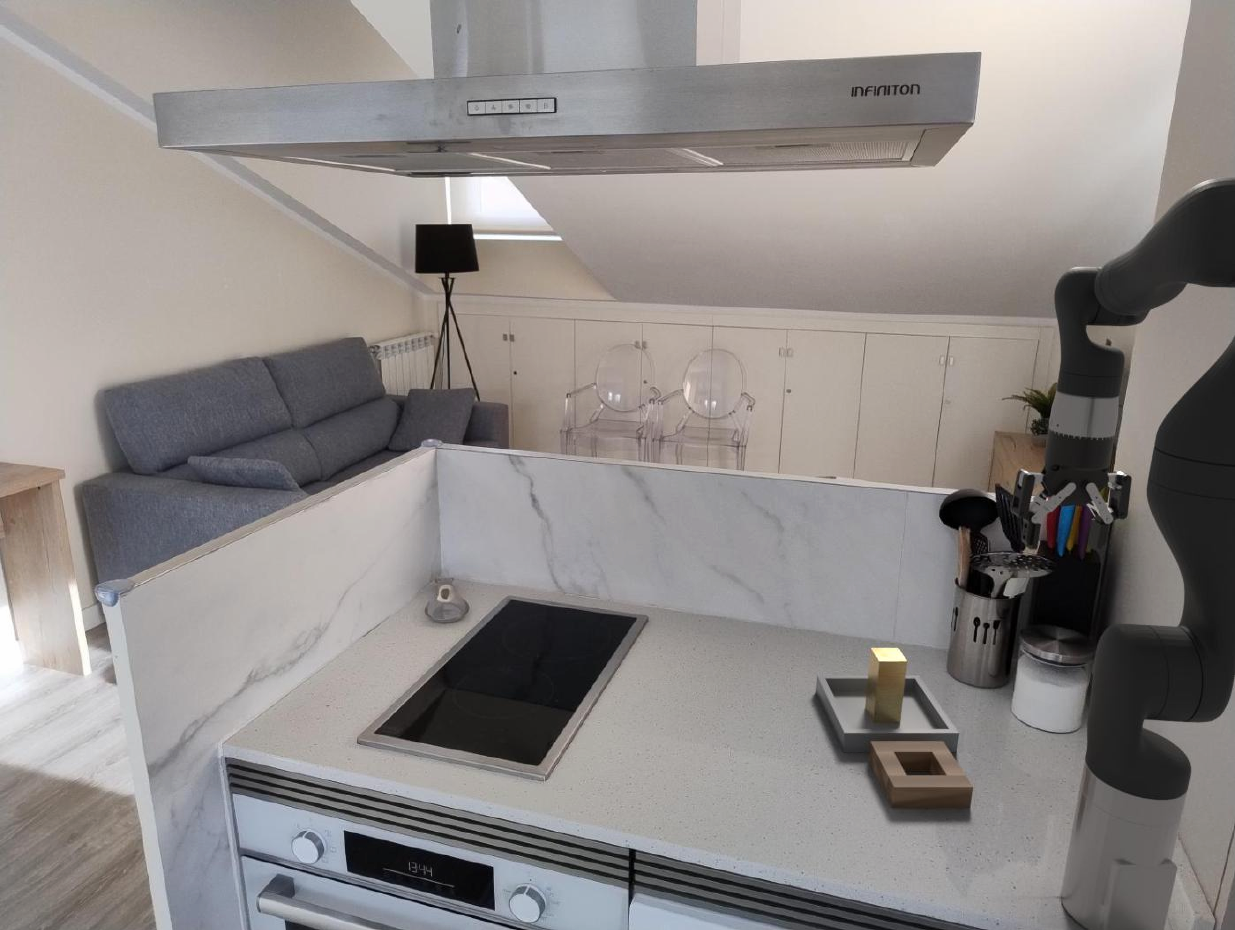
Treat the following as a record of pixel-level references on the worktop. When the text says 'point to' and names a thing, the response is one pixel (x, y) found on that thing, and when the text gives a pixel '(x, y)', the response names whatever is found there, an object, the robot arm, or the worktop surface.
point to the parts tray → (856, 728)
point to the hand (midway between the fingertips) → (1062, 548)
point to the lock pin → (885, 685)
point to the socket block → (919, 790)
